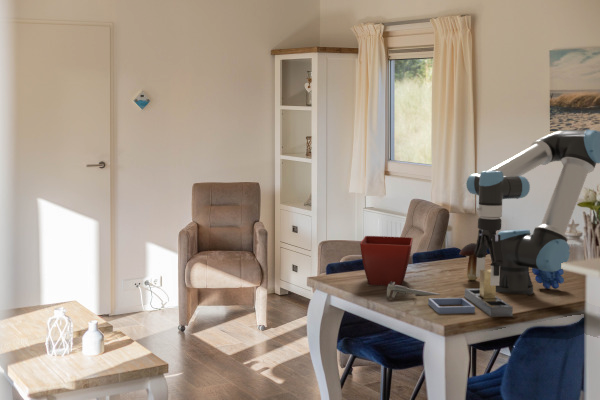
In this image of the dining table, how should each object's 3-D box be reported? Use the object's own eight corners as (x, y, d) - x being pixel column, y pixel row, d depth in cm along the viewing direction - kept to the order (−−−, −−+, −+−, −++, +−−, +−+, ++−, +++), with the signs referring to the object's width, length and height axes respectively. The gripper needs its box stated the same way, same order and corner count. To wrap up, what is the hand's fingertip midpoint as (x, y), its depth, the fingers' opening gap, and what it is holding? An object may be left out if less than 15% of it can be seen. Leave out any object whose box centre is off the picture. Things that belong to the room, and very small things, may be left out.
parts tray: (462, 306, 239) (463, 297, 238) (474, 315, 227) (474, 306, 227) (428, 307, 238) (428, 298, 237) (438, 316, 226) (438, 307, 225)
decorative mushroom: (455, 281, 278) (456, 244, 276) (462, 276, 287) (463, 240, 286) (483, 284, 273) (484, 246, 271) (489, 279, 282) (490, 242, 281)
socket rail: (464, 299, 248) (464, 288, 248) (483, 299, 249) (484, 288, 248) (490, 319, 222) (491, 307, 222) (512, 319, 223) (512, 306, 222)
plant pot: (409, 289, 265) (410, 244, 263) (359, 286, 268) (359, 243, 267) (412, 278, 283) (412, 237, 282) (364, 276, 287) (365, 235, 285)
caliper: (387, 299, 250) (387, 281, 249) (386, 298, 251) (386, 281, 251) (443, 298, 252) (443, 280, 251) (442, 297, 253) (443, 280, 252)
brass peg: (490, 304, 237) (491, 269, 236) (495, 307, 233) (496, 271, 232) (479, 304, 237) (480, 269, 236) (483, 307, 233) (484, 272, 232)
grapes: (529, 289, 265) (530, 257, 264) (532, 285, 271) (533, 255, 270) (562, 292, 259) (563, 260, 258) (564, 289, 265) (565, 257, 264)
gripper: (466, 213, 244) (464, 273, 246) (492, 222, 220) (489, 289, 222) (487, 213, 245) (485, 273, 247) (515, 222, 220) (512, 289, 222)
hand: (487, 281), depth 234 cm, fingers open, 13 cm apart
